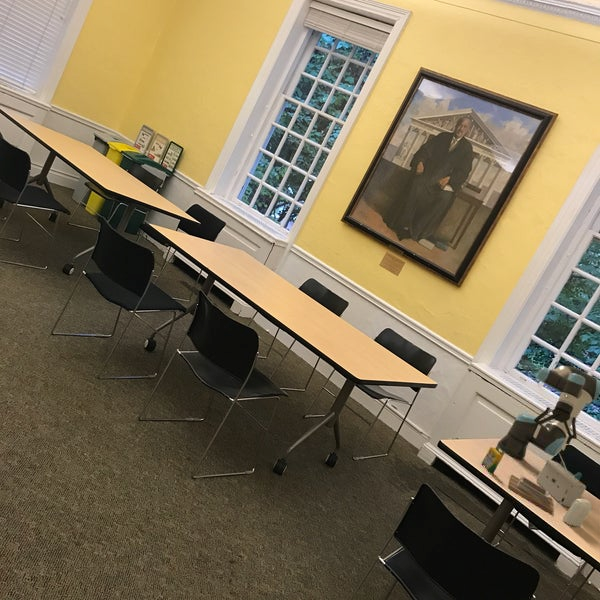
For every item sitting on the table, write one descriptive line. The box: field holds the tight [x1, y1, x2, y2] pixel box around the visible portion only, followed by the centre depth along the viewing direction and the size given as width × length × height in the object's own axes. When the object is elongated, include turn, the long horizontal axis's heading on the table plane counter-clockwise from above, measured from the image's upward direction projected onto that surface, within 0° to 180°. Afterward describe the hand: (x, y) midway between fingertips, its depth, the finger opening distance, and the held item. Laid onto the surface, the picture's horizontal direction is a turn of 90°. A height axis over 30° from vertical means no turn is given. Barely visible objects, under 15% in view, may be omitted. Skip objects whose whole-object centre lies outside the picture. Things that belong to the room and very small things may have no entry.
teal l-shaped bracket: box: [559, 461, 583, 481], centre depth 312 cm, size 18×11×10 cm, turn 157°
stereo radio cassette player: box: [536, 449, 587, 508], centre depth 280 cm, size 21×8×20 cm, turn 16°
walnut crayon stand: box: [507, 474, 554, 515], centre depth 265 cm, size 18×20×4 cm
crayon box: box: [481, 445, 506, 474], centre depth 272 cm, size 7×3×12 cm, turn 10°
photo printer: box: [562, 498, 593, 527], centre depth 253 cm, size 10×4×12 cm, turn 119°
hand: (548, 443), depth 280 cm, fingers open, 13 cm apart
